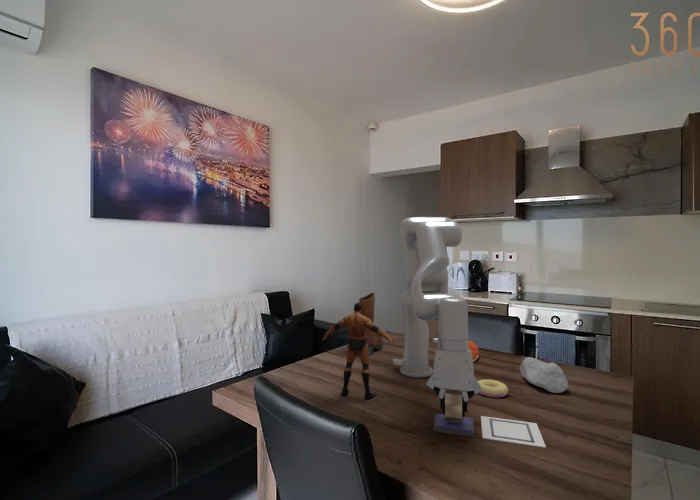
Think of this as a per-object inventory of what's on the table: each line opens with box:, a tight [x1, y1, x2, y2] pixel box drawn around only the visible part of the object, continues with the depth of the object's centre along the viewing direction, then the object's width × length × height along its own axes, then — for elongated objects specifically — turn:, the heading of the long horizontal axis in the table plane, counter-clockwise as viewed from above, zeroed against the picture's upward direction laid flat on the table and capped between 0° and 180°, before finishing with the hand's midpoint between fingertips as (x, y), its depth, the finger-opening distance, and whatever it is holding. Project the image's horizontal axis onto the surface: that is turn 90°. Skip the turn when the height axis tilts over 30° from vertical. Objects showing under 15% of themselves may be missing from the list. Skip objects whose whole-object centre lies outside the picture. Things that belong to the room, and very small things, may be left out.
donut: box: [477, 379, 509, 399], centre depth 116 cm, size 10×5×9 cm
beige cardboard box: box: [444, 389, 463, 423], centre depth 93 cm, size 4×4×7 cm
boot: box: [357, 292, 384, 357], centre depth 167 cm, size 25×9×27 cm, turn 152°
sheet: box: [480, 415, 547, 449], centre depth 91 cm, size 14×12×1 cm
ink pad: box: [432, 413, 475, 438], centre depth 93 cm, size 10×8×1 cm
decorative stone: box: [519, 356, 569, 394], centre depth 122 cm, size 17×10×10 cm
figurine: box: [322, 302, 396, 402], centre depth 113 cm, size 24×6×30 cm, turn 71°
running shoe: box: [468, 340, 480, 363], centre depth 148 cm, size 10×28×11 cm, turn 146°
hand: (453, 412), depth 93 cm, fingers closed on beige cardboard box, 4 cm apart
